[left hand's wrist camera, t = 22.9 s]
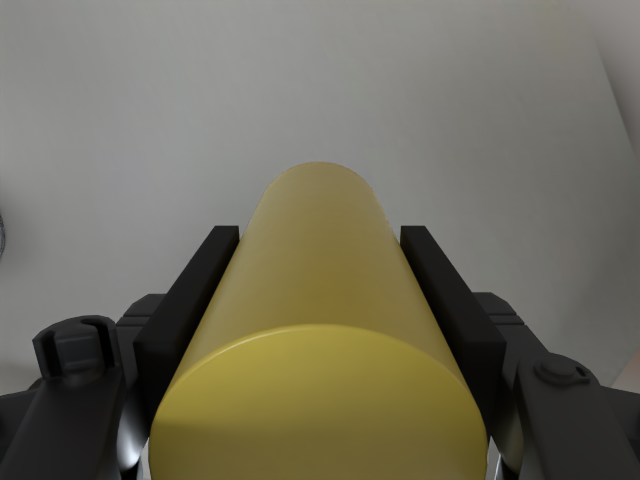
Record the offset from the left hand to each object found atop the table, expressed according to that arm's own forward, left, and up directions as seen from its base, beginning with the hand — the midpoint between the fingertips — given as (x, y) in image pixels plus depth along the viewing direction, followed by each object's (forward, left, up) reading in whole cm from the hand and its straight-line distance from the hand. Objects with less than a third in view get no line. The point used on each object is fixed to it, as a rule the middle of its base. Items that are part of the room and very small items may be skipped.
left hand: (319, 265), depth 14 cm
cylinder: (0, 0, -4) cm, 4 cm away
